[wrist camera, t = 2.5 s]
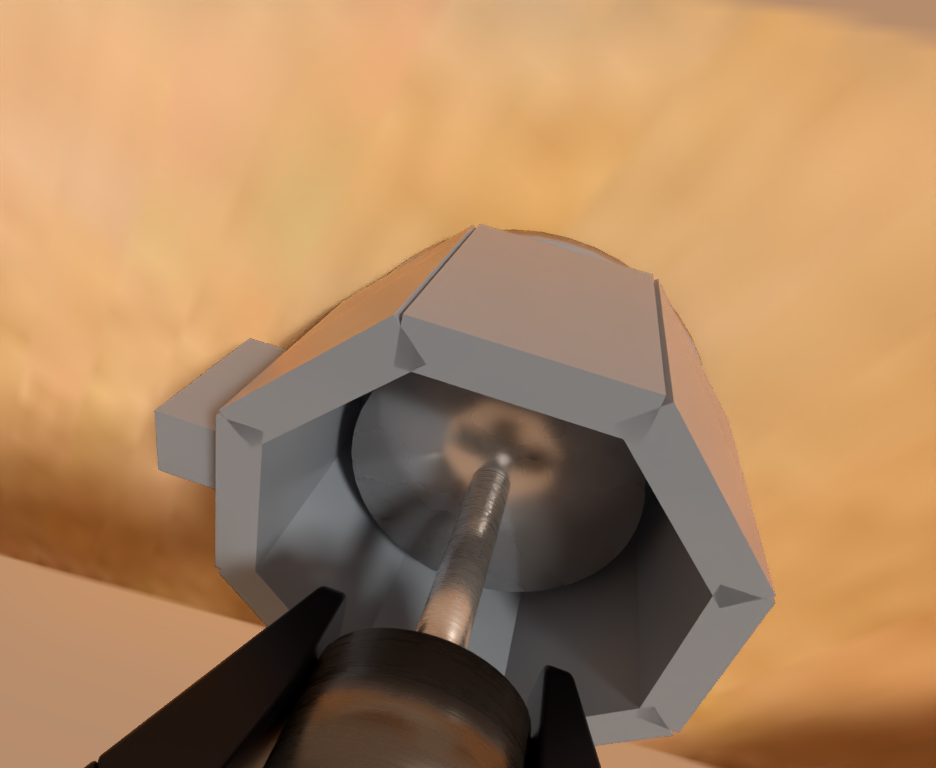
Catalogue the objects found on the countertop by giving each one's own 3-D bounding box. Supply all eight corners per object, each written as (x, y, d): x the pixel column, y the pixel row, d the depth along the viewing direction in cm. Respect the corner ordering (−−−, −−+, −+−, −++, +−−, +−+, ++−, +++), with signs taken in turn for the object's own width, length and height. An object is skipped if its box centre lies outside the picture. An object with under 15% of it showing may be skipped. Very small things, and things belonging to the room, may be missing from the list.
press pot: (780, 299, 12) (879, 462, 7) (626, 588, 17) (625, 805, 12) (295, 158, 13) (102, 220, 8) (273, 468, 18) (141, 625, 13)
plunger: (694, 391, 11) (785, 869, 5) (588, 605, 14) (554, 1066, 8) (383, 296, 12) (76, 604, 5) (347, 521, 15) (127, 890, 8)
